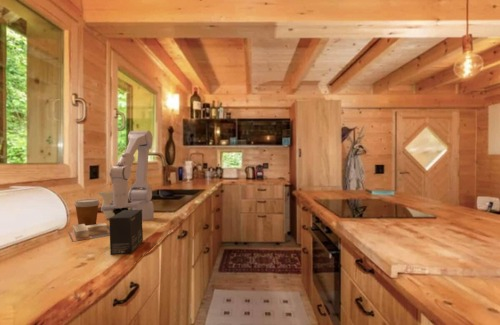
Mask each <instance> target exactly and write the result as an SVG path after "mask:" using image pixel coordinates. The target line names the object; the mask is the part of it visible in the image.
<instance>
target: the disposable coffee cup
mask: <svg viewBox="0 0 500 325" xmlns="http://www.w3.org/2000/svg"><path fill="white" fill-rule="evenodd" d="M100 203H101V202H100V201H99V199H97V198H87V199H79V200H76V201H75V203H74V207H75V211H76V212H75V213H76V218H77V223H78V224H77V225H79V224H85V226H87V225H95V224H97V219H98V213H99V211H98V210H99V205H100Z"/></svg>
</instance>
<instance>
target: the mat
mask: <svg viewBox="0 0 500 325" xmlns="http://www.w3.org/2000/svg"><path fill="white" fill-rule="evenodd" d="M67 234H68V235H69V239H70V240H71V242H72V243H76V242H82V241H89V240H93V239H99V238H105V237H110V225H109V226H108V225H107V232H106V233H100V234H93V235H89V238H85V239H79V240H76V239H75V237H74V234H73V231H68V232H67Z"/></svg>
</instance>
